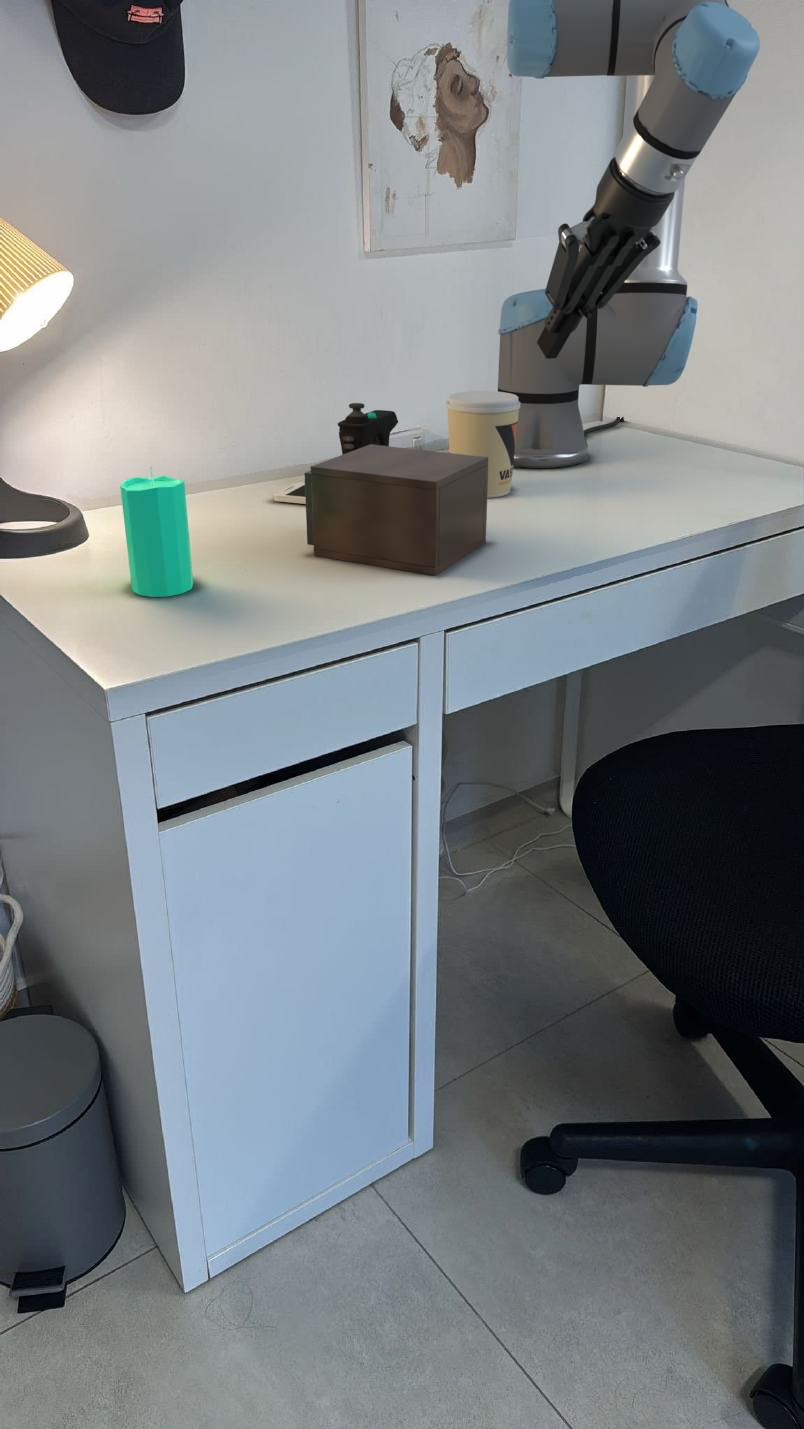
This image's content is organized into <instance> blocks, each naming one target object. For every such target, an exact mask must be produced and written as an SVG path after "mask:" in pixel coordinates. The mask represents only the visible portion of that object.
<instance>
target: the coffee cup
mask: <svg viewBox="0 0 804 1429" xmlns="http://www.w3.org/2000/svg"><path fill="white" fill-rule="evenodd" d="M518 400H519V399H518V396H516V395H514V394H510V393H505V392H498V391H494V390H473V391H472V390H469V391H460V392H456V393H452V394H450V395H449V396H448V400H447V401H446V408H447V428H448V429H447V430H448V448H449V450H448V451H449V452H448V453H454V454H463V455H472V456H481V457H488V489H487V499H490V498H499V497H503V496H506V495H509V494H510V493H511V489H512V480H513V472H514V471H513V470H514V466H513V463H514V454H515V444H516V435H517V425H518V413H519V408H520V402H519V401H518Z"/></svg>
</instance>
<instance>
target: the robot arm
mask: <svg viewBox="0 0 804 1429" xmlns="http://www.w3.org/2000/svg"><path fill="white" fill-rule="evenodd" d="M507 12H508V13H507V32H506V33H507V34H506V37H507V38H506V40H507V42H506V67H507V70H508V72H509V73H510V74H511V76H514V77H521V78H522V77H523V78H524V77H525V78H526V77H528V78H535V79H539V80H541V79H545V78H556V77H595V76H596V77H597V76H598V77H599V76H607V77H626V84H625V98H624V114H623V126H622V138H621V139H620V142H619V144H618V145H617V148H616V149H615V152H614V156H613V157H612V158H611V160H610V161H609V163H608V165H607V167H606V168H605V171H604V172H603V174H602V176H601V178H600V180H599V183H598V184H597V187H596V191H595V192H596V193H595V200H594V203H593V205H592V206H591V207H590V209H588V210H587V212H586V213H584V216H583V218H582V221H581V222H579V223H577V224H575V225H573V226H571V227H570V226H569V224H568V223H562V224H561V225H560V226H559V227H558V229H557V235H558V244H557V249H556V252H555V256H554V259H553V262H552V265H551V269H550V273H549V275H548V276H549V277H548V280H547V283H546V287H545V288H539V289H534V290H527V291H524V292H519V293H515V294H512V295H510V296H508V297H507V298H506V299H505V300H504V301H503V303H502V304H501V308H500V309H501V310H500V321H499V328H498V331H497V332H498V335H499V348H498V349H499V352H498V371H497V373H498V375H497V392H505V393H510V394H514V395H516V396H518V399H519V400H518V401H519V402H520V408H519V413H518V425H517V435H516V444H515V454H514V463H513V467H515V468H527V469H528V468H529V469H551V468H563V467H564V468H565V467H570V466H576V465H579V464H581V463H584V462H585V461H587V459H588V451H589V444H588V440H587V438H586V437H585V436H588V435H589V434H592V433H594V432H599V431H603V430H607V429H611V428H614V427H617V426H618V425H619V424H620V423H625V418H624V416H623V417H622V418H621V419H620V417H617V416H616V418H615V419H614V420H613V421H611V422H608V423H603V424H600V425H595V426H591V427H589V428H586V429H584V427H583V426H584V425H583V420H582V415H581V412H580V407H579V396H580V394H579V393H580V385H591V386H631V387H632V386H637V387H639V386H640V387H641V386H642V387H644V388H647V387H650V386H669V385H672V384H674V383H676V382H677V381H678V380H679V379H680V378H681V376H682V374H683V372H684V370H685V368H686V365H687V362H688V358H689V356H690V351H691V347H692V345H693V344H692V343H693V339H694V334H695V329H696V324H697V315H698V314H697V313H698V308H699V307H698V300H697V299H696V298H694V297H692V296H687V294H688V282H687V280H686V279H685V278H684V277H683V276H682V274H681V273H680V272H679V270H678V267H679V255H680V242H681V230H682V219H683V208H684V195H685V194H684V193H685V185H686V184H685V183H686V177H687V175H688V174H689V172H690V170H691V168H692V167H693V165H694V163H695V162H696V159H697V158H698V156H699V155H700V154H701V152H702V150H703V148H704V147H705V146H706V144H707V142H708V141H709V139H710V137H711V136H712V134H713V132H714V131H715V129H716V128H717V126H718V124H719V123H720V120H722V117H723V116H724V114H725V112H726V111H727V109H728V108H729V106H730V104H731V103H732V102H733V99H734V98H735V97H736V95H737V93H738V92H739V91H740V90H741V88H742V86H743V85H744V84H745V83H746V80H747V78H748V75H749V72H750V70H751V68H752V66H753V64H754V62H755V61H756V58H757V56H758V54H759V52H760V48H761V40H760V36H759V33H758V31H757V30H756V29H755V28H754V27H753V26H752V23H751V22H750V21H749V20H748V18H746V17H745V16H744V15H742V14H741V13H740V12H738V11H737V10H735V9H734V8H731V7H730V4H729V2H728V0H509V2H508V11H507Z"/></svg>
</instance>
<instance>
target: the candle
mask: <svg viewBox="0 0 804 1429" xmlns="http://www.w3.org/2000/svg"><path fill="white" fill-rule="evenodd" d="M149 467H150V468H149V470H150V477H138V476H131V477H130V478H127V479H125V480H122V482H121V484H120V486H119V487H120V488H119V489H120V495H121V496H120V497H121V506H122V514H123V521H124V522H123V523H124V530H125V539H126V549H127V556H128V566H129V575H130V576H129V577H130V584H131V585H130V586H131V591H132V592H133V593H135V594H136V595H138V596H144V597H149V598H162V597H163V598H166V597H172V596H177V595H182V594H184V593H186V592H188V591H190V590H192V589H193V586H194V576H193V566H192V564H193V563H192V553H191V543H190V531H189V521H188V520H189V518H188V509H187V508H188V507H187V497H186V486H185V479H176V478H173V477H170V476H168V475H165V474H164V475H163V474H162V475H158V476H153V469H152V468H153V467H152V465H149Z"/></svg>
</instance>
